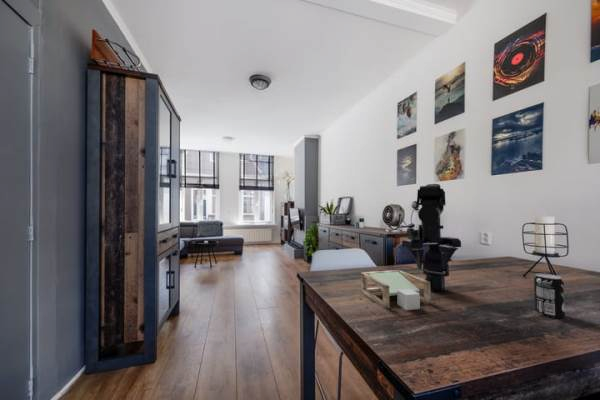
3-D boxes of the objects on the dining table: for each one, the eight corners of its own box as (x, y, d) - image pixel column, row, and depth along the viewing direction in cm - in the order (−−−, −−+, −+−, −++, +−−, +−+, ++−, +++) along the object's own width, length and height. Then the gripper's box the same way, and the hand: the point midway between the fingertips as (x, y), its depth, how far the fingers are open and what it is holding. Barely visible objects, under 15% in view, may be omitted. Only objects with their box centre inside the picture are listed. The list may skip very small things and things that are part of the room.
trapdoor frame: (400, 287, 102) (399, 269, 102) (431, 304, 85) (430, 282, 85) (360, 291, 98) (360, 272, 98) (385, 308, 81) (384, 285, 81)
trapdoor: (397, 273, 99) (398, 271, 99) (419, 292, 87) (419, 290, 87) (368, 275, 97) (368, 273, 96) (386, 295, 84) (386, 293, 84)
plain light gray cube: (409, 288, 86) (419, 293, 81) (410, 303, 86) (419, 309, 81) (397, 290, 85) (406, 295, 80) (397, 304, 85) (406, 310, 80)
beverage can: (556, 311, 78) (554, 273, 79) (570, 320, 72) (569, 279, 73) (530, 308, 81) (529, 272, 81) (542, 317, 74) (541, 277, 75)
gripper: (437, 220, 93) (438, 261, 92) (392, 221, 90) (393, 264, 89) (461, 222, 82) (463, 269, 81) (411, 223, 79) (412, 272, 78)
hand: (431, 268), depth 83 cm, fingers open, 9 cm apart
